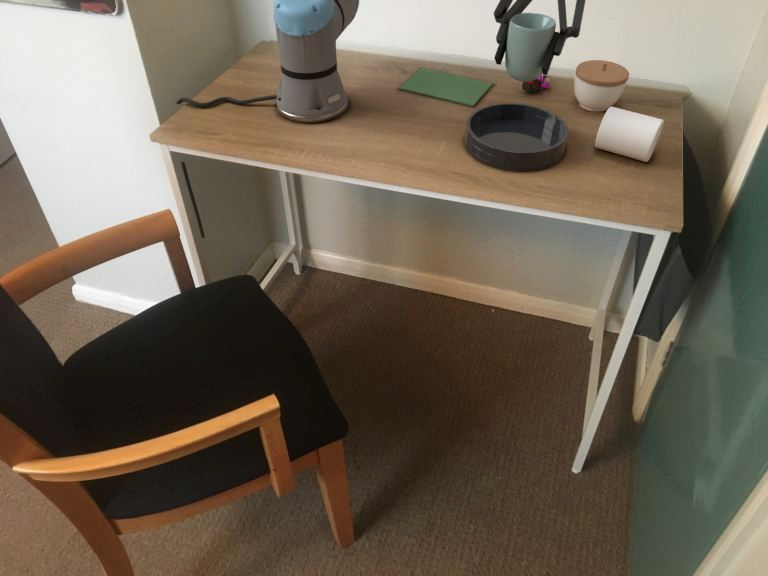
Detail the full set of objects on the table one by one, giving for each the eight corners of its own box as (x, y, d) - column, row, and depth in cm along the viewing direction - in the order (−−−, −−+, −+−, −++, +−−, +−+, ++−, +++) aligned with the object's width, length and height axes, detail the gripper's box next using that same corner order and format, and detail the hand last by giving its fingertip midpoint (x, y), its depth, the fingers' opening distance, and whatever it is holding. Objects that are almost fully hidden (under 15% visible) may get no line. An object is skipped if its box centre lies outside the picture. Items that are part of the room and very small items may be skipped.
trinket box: (566, 112, 130) (576, 70, 123) (570, 90, 137) (580, 49, 131) (618, 120, 127) (631, 77, 121) (620, 97, 135) (632, 55, 128)
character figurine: (529, 77, 144) (515, 92, 135) (534, 55, 141) (520, 69, 132) (553, 83, 142) (540, 98, 134) (558, 61, 139) (546, 75, 131)
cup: (516, 64, 115) (524, 9, 108) (552, 75, 111) (564, 19, 104) (494, 78, 110) (501, 21, 103) (531, 90, 107) (542, 33, 100)
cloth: (399, 89, 138) (399, 87, 138) (421, 69, 145) (421, 67, 145) (473, 106, 132) (473, 105, 131) (492, 84, 139) (492, 83, 139)
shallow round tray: (449, 155, 117) (450, 137, 115) (485, 112, 130) (487, 95, 127) (547, 181, 111) (551, 162, 108) (575, 134, 123) (579, 116, 120)
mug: (643, 169, 114) (656, 131, 108) (591, 154, 118) (601, 116, 112) (659, 141, 121) (673, 104, 116) (610, 128, 125) (620, 91, 119)
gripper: (624, -38, 106) (579, 87, 106) (511, -54, 113) (469, 63, 113) (627, -65, 99) (578, 69, 99) (505, -81, 105) (461, 45, 106)
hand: (520, 66), depth 106 cm, fingers closed on cup, 8 cm apart
